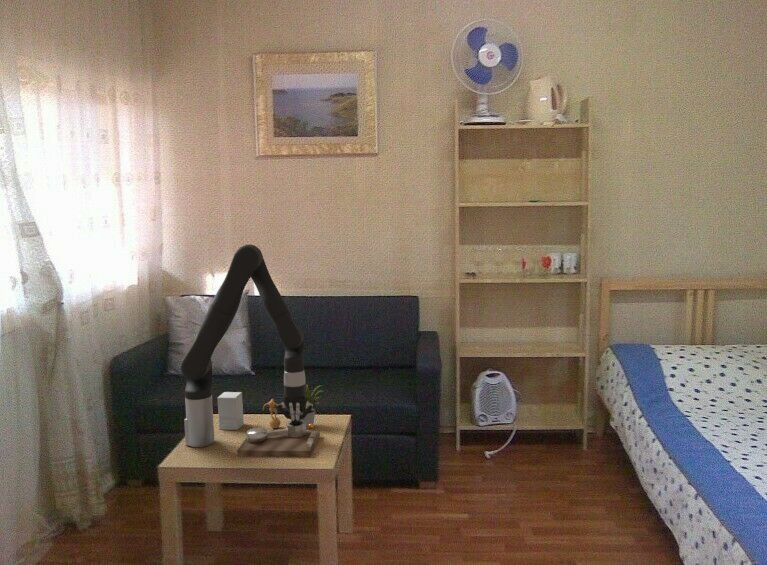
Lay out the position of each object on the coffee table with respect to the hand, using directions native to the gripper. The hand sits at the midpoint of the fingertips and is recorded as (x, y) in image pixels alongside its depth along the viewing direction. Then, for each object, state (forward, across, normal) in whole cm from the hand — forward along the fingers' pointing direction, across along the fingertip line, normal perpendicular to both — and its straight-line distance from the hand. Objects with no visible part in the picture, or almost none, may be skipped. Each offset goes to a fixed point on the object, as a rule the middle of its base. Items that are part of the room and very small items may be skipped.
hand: (296, 429), depth 253 cm
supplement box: (+4, -28, +14) cm, 31 cm away
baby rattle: (+2, -5, -2) cm, 6 cm away
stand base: (+4, -5, -5) cm, 8 cm away
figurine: (+4, -11, +12) cm, 17 cm away
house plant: (+4, +2, +15) cm, 15 cm away
